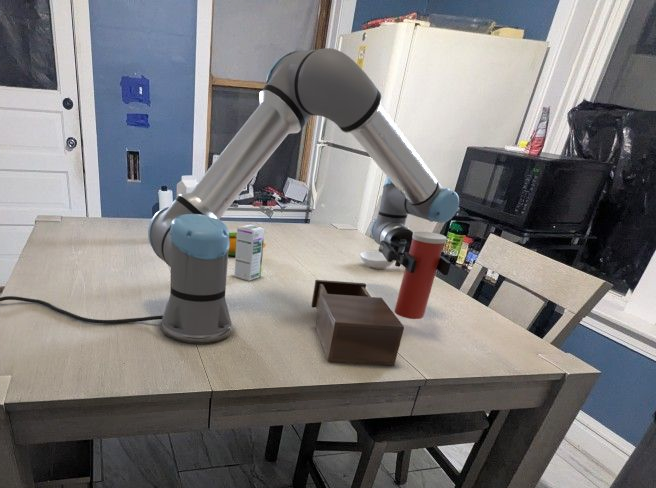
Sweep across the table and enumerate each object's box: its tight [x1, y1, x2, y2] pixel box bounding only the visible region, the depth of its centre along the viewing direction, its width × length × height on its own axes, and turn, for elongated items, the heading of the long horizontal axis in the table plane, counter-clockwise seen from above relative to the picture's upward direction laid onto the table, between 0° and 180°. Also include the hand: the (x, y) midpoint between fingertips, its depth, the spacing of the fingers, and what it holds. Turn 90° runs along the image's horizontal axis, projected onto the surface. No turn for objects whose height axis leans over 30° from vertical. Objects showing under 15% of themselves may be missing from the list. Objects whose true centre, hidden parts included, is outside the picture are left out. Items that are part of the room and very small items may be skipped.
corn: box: [228, 232, 267, 257], centre depth 161 cm, size 7×8×20 cm
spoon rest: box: [359, 249, 396, 270], centre depth 162 cm, size 24×12×7 cm, turn 102°
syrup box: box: [233, 223, 266, 282], centre depth 139 cm, size 6×6×14 cm
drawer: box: [310, 279, 372, 314], centre depth 116 cm, size 20×12×7 cm, turn 0°
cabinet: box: [315, 293, 405, 367], centre depth 103 cm, size 17×14×9 cm
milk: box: [176, 174, 199, 198], centre depth 170 cm, size 6×6×22 cm
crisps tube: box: [394, 230, 447, 320], centre depth 109 cm, size 7×7×18 cm
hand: (430, 267), depth 103 cm, fingers closed on crisps tube, 7 cm apart
